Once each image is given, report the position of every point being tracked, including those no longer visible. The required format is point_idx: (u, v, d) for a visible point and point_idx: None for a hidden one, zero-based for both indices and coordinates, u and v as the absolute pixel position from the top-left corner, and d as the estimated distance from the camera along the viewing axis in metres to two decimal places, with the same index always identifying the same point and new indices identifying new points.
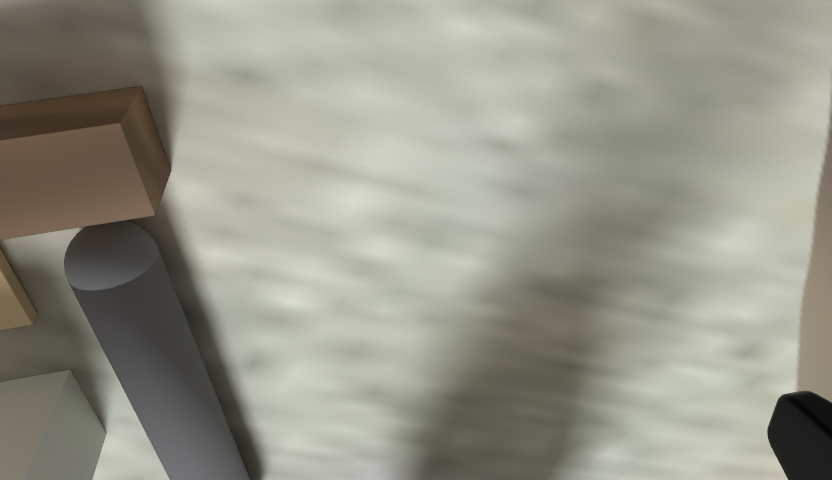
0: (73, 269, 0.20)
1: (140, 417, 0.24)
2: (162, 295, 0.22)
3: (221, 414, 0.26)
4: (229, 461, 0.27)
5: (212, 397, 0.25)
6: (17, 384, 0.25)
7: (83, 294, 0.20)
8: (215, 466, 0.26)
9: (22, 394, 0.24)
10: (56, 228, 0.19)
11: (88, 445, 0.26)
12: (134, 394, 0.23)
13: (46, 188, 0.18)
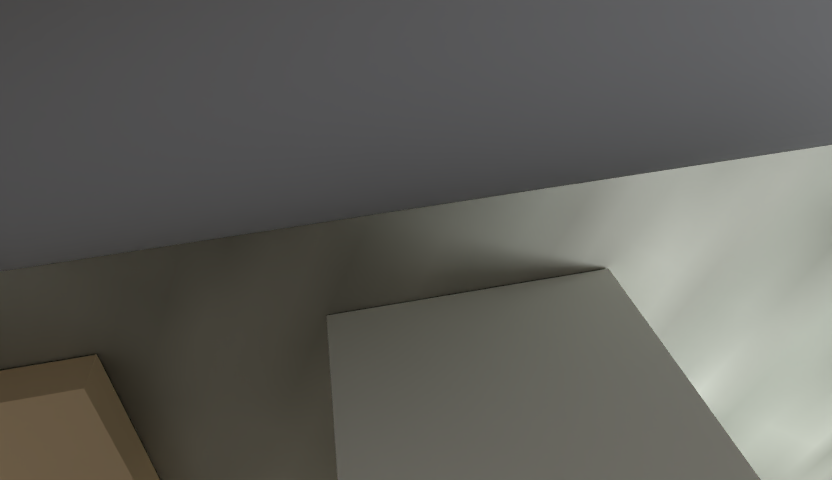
0: None
1: (399, 203, 0.05)
2: None
3: None
4: None
5: None
6: None
7: None
8: None
9: None
10: None
11: (577, 354, 0.07)
12: (194, 212, 0.04)
13: None
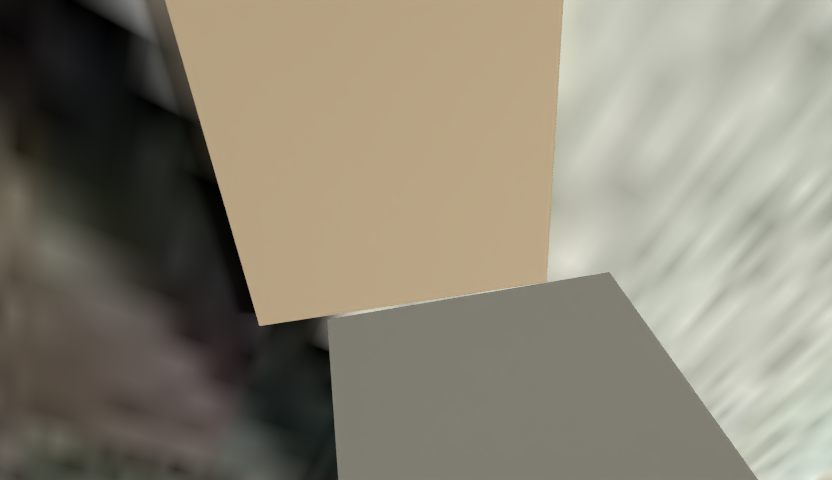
0: None
1: None
2: None
3: None
4: None
5: None
6: None
7: None
8: None
9: None
10: None
11: (578, 358, 0.07)
12: None
13: None
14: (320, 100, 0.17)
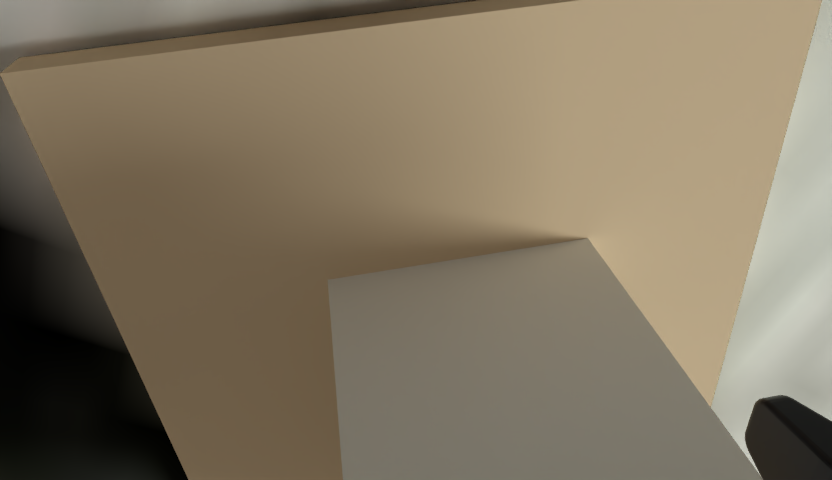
0: None
1: None
2: None
3: None
4: None
5: None
6: None
7: None
8: None
9: None
10: None
11: (556, 311, 0.08)
12: None
13: None
14: None
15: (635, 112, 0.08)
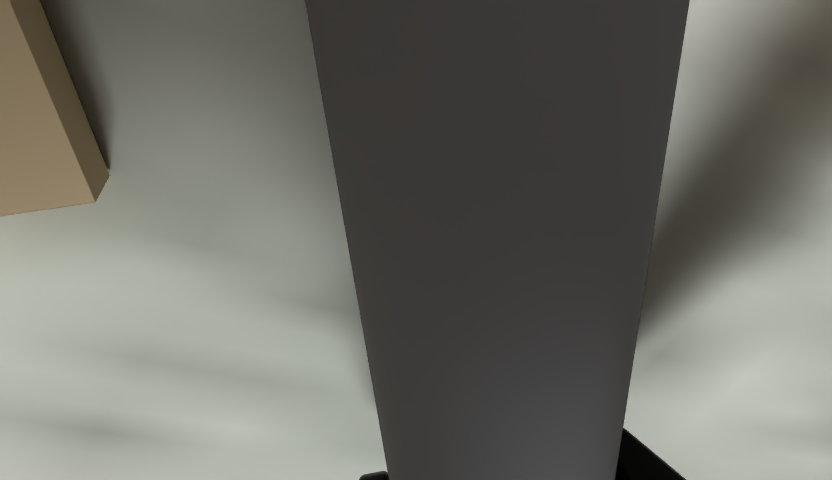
0: None
1: None
2: (680, 51, 0.05)
3: None
4: None
5: None
6: None
7: None
8: None
9: None
10: None
11: None
12: (462, 467, 0.06)
13: None
14: None
15: None
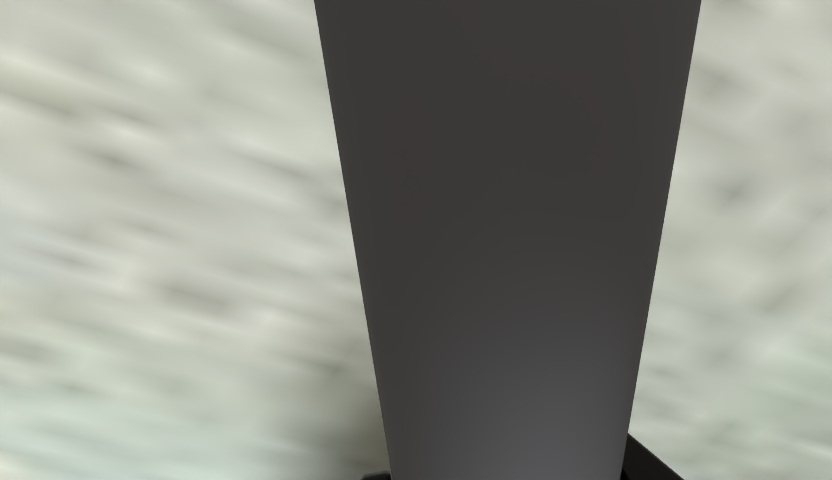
0: None
1: None
2: (692, 39, 0.05)
3: None
4: None
5: None
6: None
7: None
8: None
9: None
10: None
11: None
12: (468, 463, 0.06)
13: None
14: None
15: None
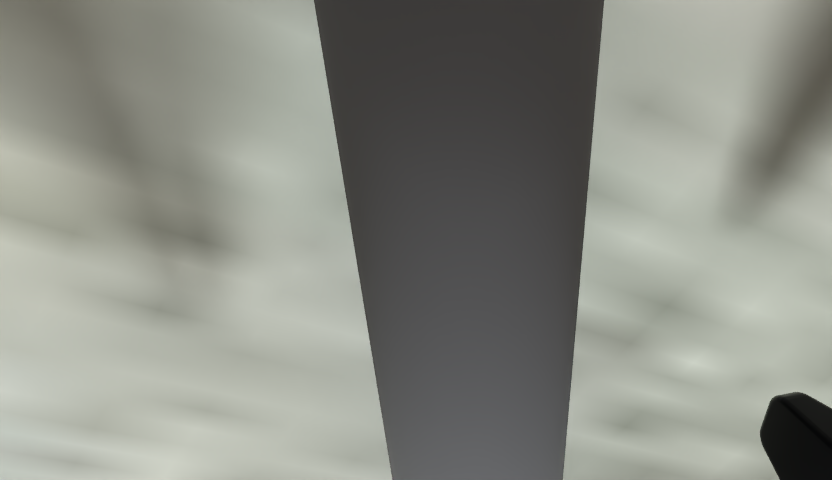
0: None
1: (417, 420, 0.09)
2: None
3: None
4: None
5: None
6: None
7: None
8: None
9: None
10: None
11: None
12: (436, 350, 0.08)
13: None
14: None
15: None
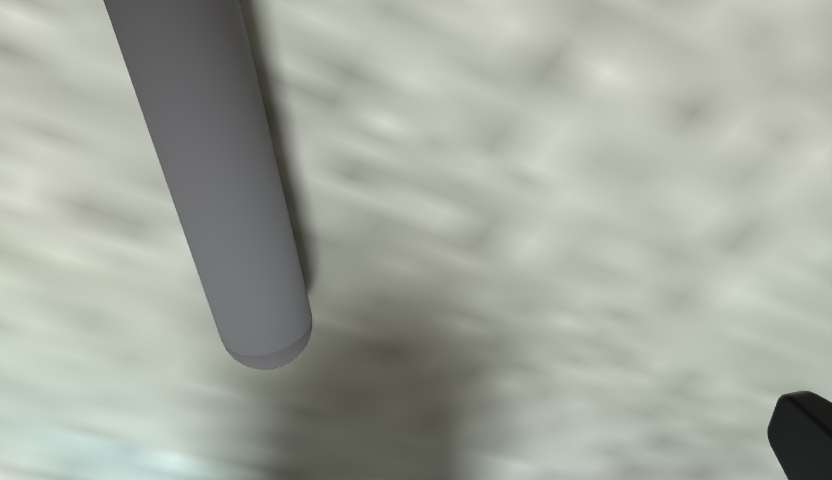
0: None
1: (146, 91, 0.15)
2: None
3: (268, 126, 0.17)
4: (278, 207, 0.18)
5: (257, 83, 0.16)
6: None
7: None
8: (260, 205, 0.17)
9: None
10: None
11: None
12: (138, 29, 0.14)
13: None
14: None
15: None
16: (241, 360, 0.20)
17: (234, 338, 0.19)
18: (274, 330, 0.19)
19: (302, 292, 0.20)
